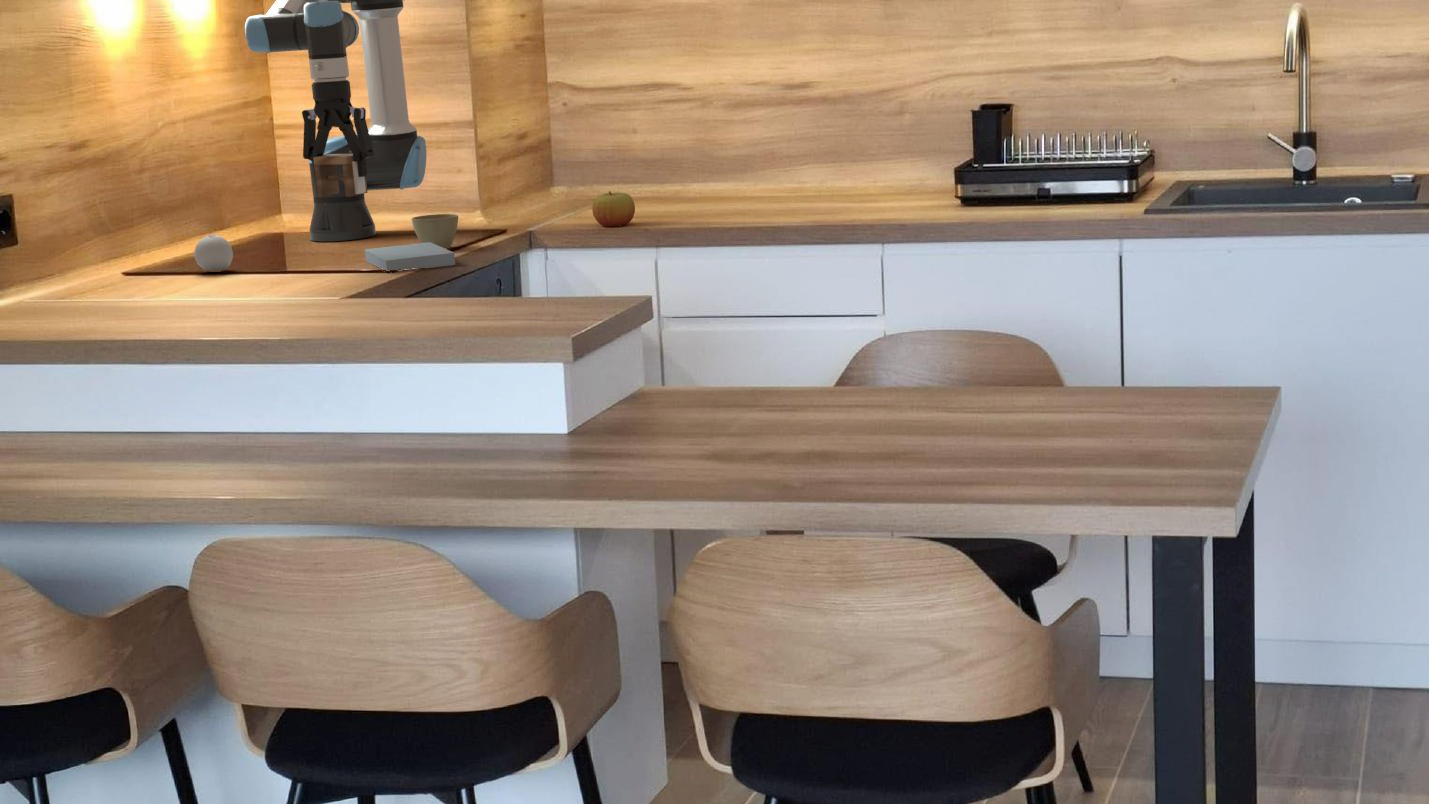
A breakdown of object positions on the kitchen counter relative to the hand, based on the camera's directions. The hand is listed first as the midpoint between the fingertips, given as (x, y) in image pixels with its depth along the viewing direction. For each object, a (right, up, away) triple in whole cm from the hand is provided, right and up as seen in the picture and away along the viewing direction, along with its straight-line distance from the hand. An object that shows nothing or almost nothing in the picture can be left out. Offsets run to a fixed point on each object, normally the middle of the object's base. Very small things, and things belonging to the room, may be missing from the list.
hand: (342, 193), depth 354 cm
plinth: (+13, -14, +5) cm, 19 cm away
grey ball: (-28, -16, +9) cm, 33 cm away
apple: (+53, -2, +45) cm, 69 cm away
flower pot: (+16, -10, +23) cm, 30 cm away
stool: (0, 0, 0) cm, 0 cm away
